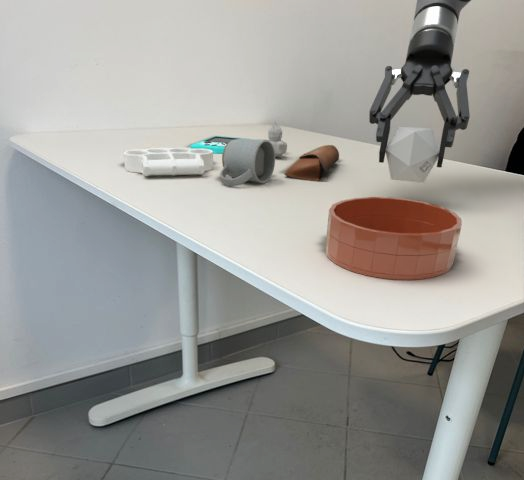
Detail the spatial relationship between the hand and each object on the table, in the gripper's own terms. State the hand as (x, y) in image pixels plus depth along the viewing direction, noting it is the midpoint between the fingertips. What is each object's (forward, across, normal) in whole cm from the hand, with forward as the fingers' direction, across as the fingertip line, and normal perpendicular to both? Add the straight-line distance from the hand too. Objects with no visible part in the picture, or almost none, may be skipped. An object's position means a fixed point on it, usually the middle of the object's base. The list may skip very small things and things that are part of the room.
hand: (410, 159), depth 87 cm
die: (0, 0, -5) cm, 5 cm away
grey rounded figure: (-17, +31, -28) cm, 45 cm away
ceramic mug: (+1, +30, -10) cm, 32 cm away
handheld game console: (-22, +47, -32) cm, 61 cm away
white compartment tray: (-1, +47, -12) cm, 49 cm away
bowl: (+23, 0, +12) cm, 26 cm away
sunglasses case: (-10, +20, -21) cm, 30 cm away
